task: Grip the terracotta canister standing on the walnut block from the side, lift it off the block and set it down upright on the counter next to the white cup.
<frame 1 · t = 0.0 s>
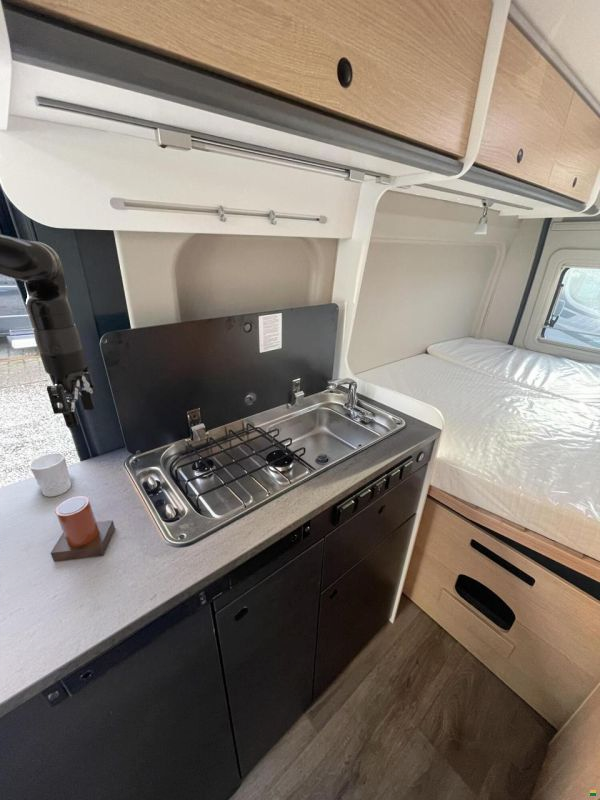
hand: (82, 417, 74), 29 cm above the table, tool pointing down, fingers open, 8 cm apart
walnut block: (87, 548, 76), on the table, touching canister
canister: (83, 535, 75), point 4 cm above the table, touching walnut block
white cup: (57, 489, 95), on the table
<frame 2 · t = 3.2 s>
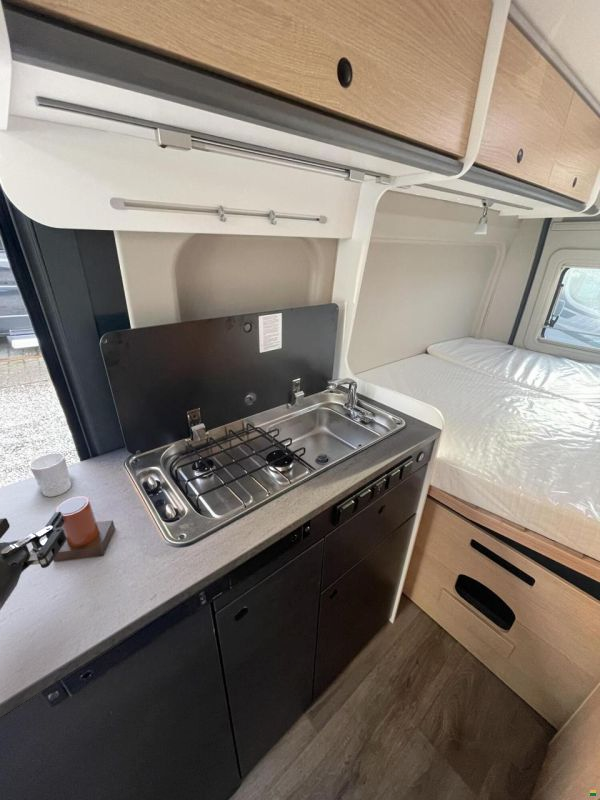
hand: (33, 518, 58), 20 cm above the table, tool horizontal, fingers open, 8 cm apart
nothing on the table moved.
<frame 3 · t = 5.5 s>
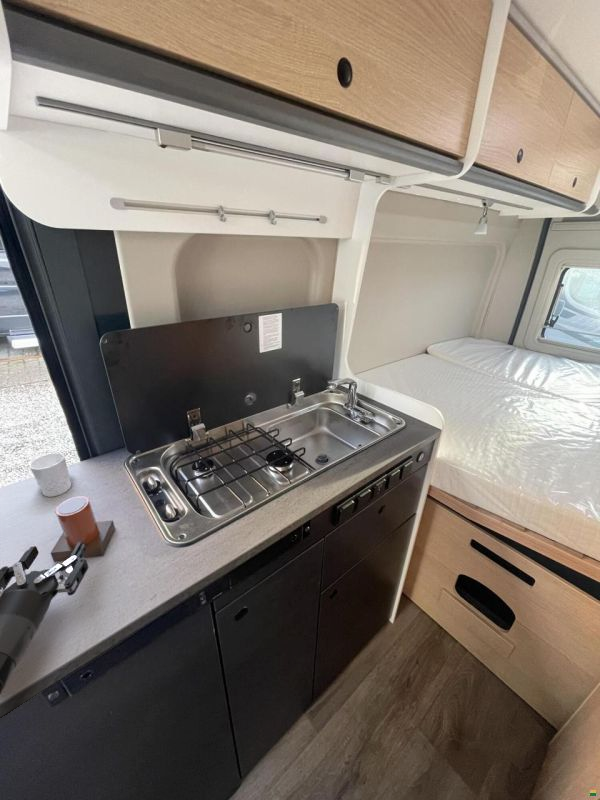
hand: (58, 546, 65), 10 cm above the table, tool horizontal, fingers open, 8 cm apart
nothing on the table moved.
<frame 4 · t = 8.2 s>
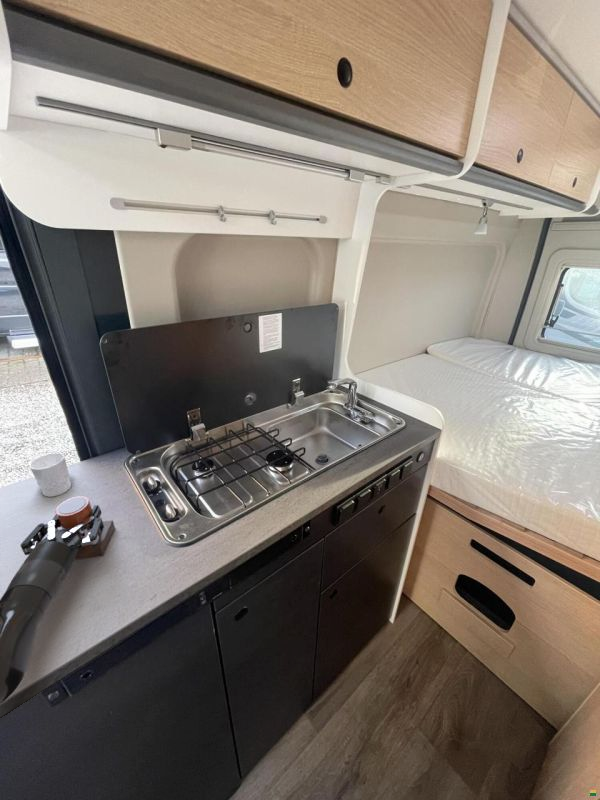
hand: (81, 509, 75), 10 cm above the table, tool horizontal, fingers closed on canister, 6 cm apart
canister: (83, 535, 75), point 4 cm above the table, touching gripper, walnut block
everything else where it was.
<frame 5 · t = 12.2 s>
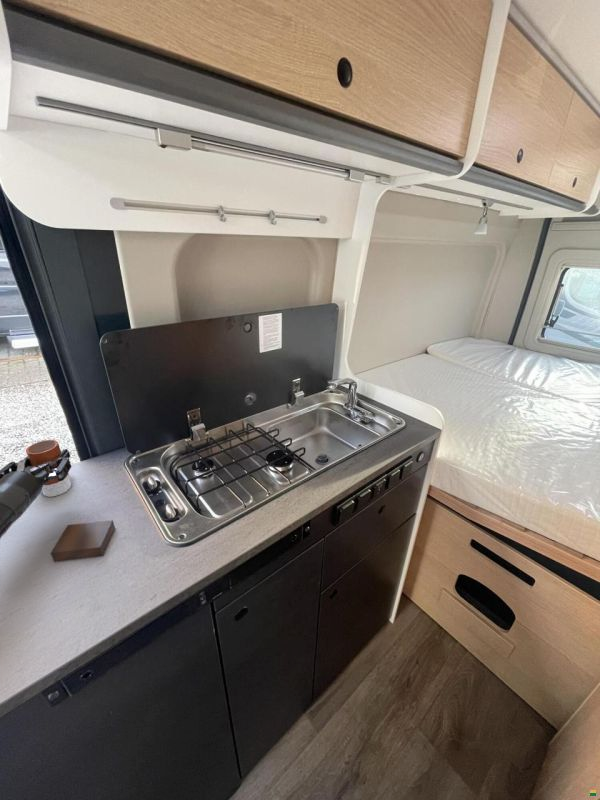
hand: (51, 453, 81), 18 cm above the table, tool horizontal, fingers closed on canister, 6 cm apart
walnut block: (87, 548, 76), on the table
canister: (53, 477, 81), point 12 cm above the table, touching gripper
everything else where it was.
when the fingers open (6 cm above the table, at t = 16.2 s): canister stays where it is, on the table.
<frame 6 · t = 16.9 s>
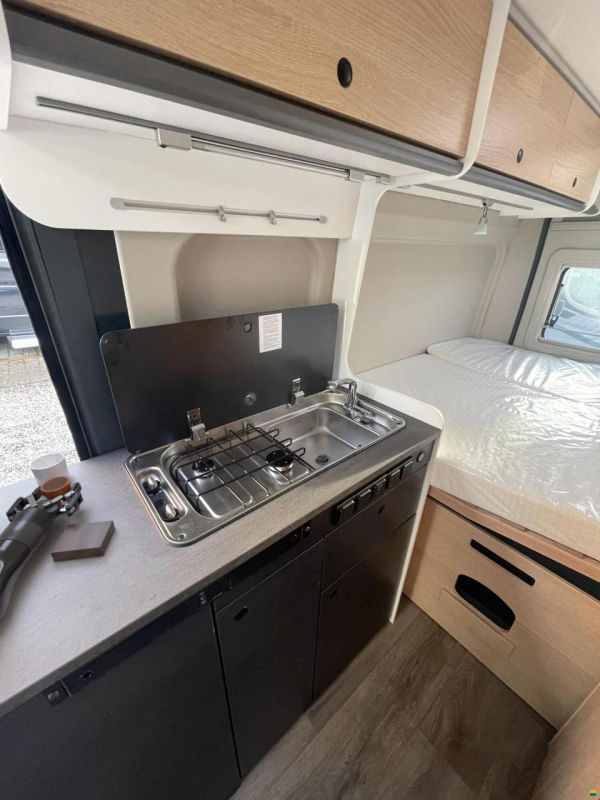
hand: (60, 486, 86), 7 cm above the table, tool horizontal, fingers open, 8 cm apart
canister: (65, 510, 87), on the table
everything else where it was.
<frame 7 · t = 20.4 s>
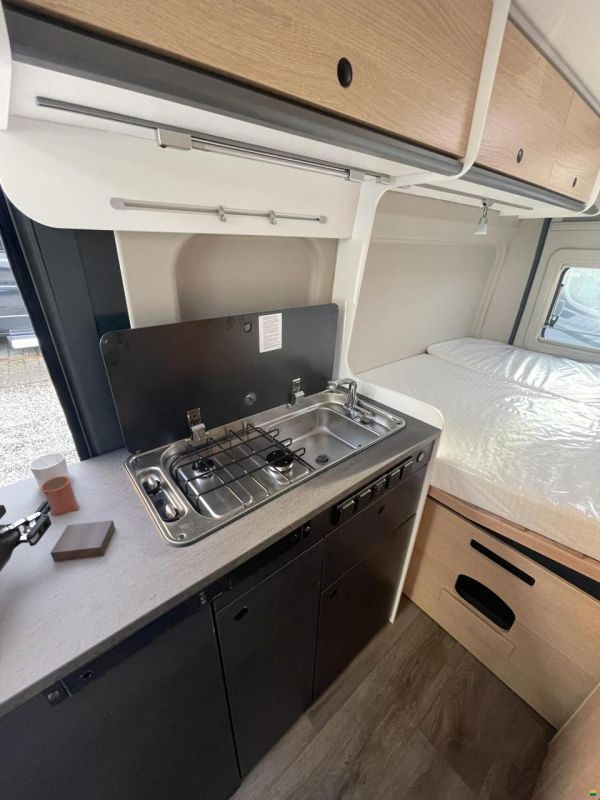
hand: (25, 506, 70), 13 cm above the table, tool horizontal, fingers open, 8 cm apart
nothing on the table moved.
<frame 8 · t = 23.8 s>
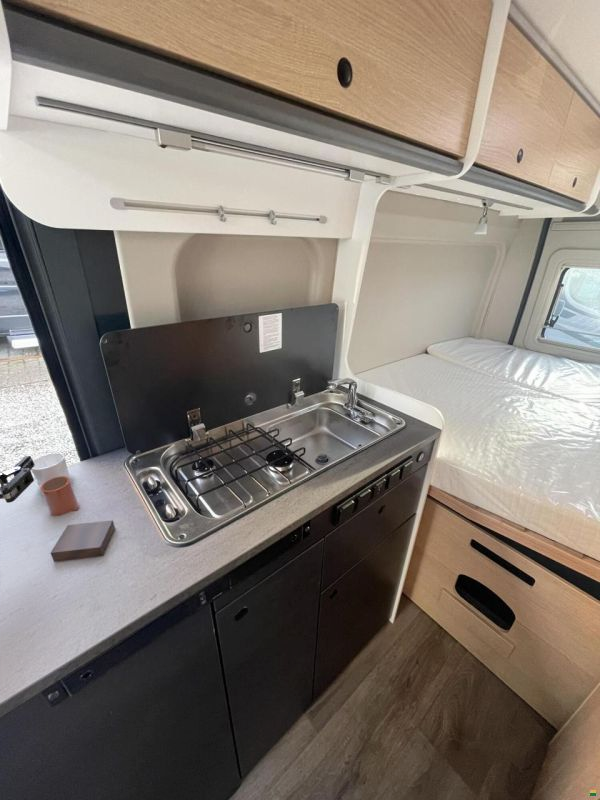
hand: (4, 461, 60), 28 cm above the table, tool horizontal, fingers open, 8 cm apart
nothing on the table moved.
at the end: canister on the table; canister tilted 0°; canister 11.4 cm from the white cup (horizontally) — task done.
